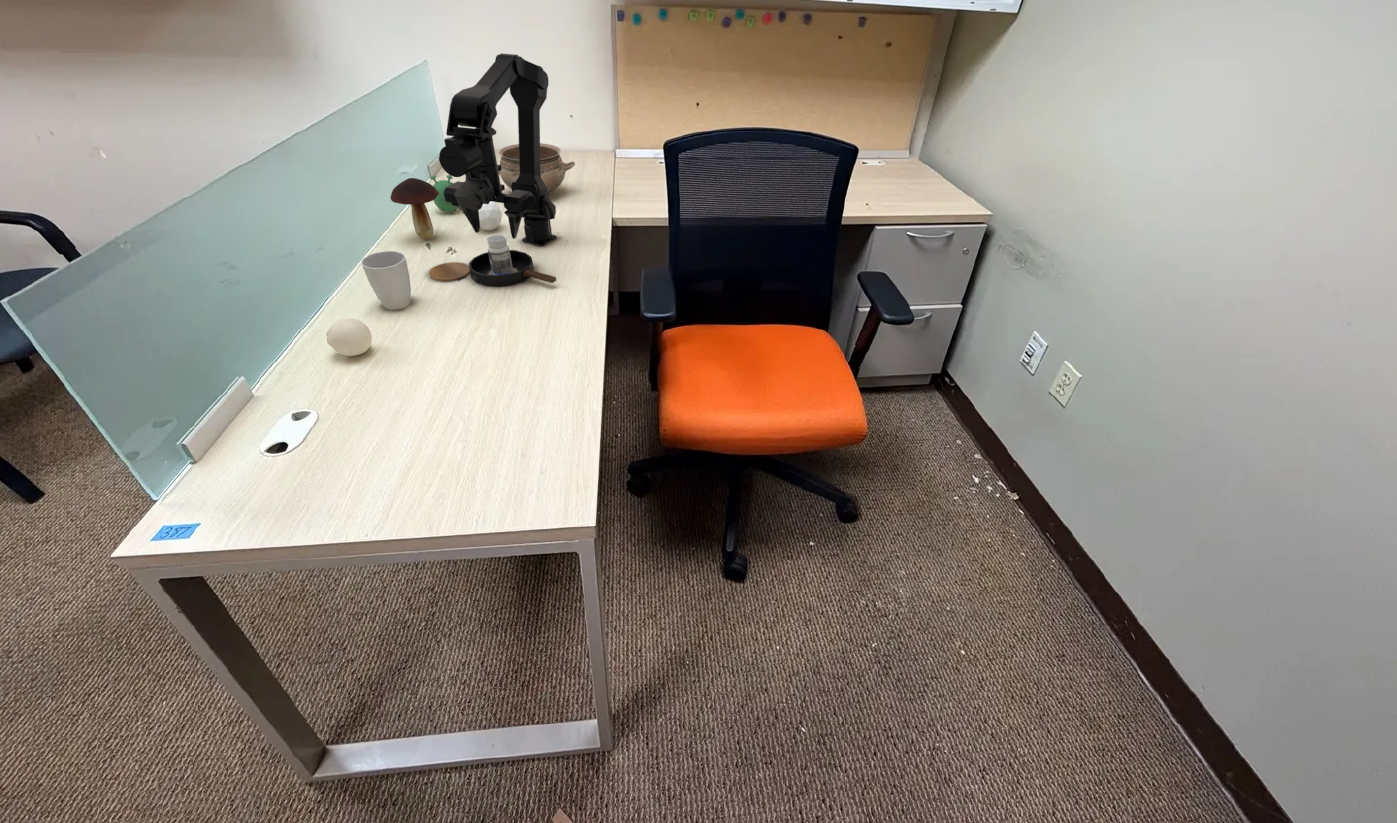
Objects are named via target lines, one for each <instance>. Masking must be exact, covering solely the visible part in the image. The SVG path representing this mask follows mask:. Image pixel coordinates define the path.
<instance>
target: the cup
mask: <svg viewBox="0 0 1397 823" xmlns="http://www.w3.org/2000/svg"><path fill="white" fill-rule="evenodd" d="M360 264H361V266H362V269H363V271H364V274H365V276H366V278H367V281H368V283H369V285H370V287H371V288H372V290H373V292H374V294H375V296H376V298H377V299H378V300H379V301H380V303H381V304H382V305H383V307H384V308H385V309H387V310H389V311H390V310H392V311H397V310H403V309H404V308H407V307H408V306H410V304H411V297H412V288H411V277H410V271H409V267H408V263H407V258H406V255H405V254H404V253H403V252H400V251H395V250H384V251H378V252H374V253H371V254H368V255H366V256H365V257H363V258H362V260H361V261H360Z"/></svg>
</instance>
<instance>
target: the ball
mask: <svg viewBox="0 0 1397 823" xmlns="http://www.w3.org/2000/svg"><path fill="white" fill-rule="evenodd" d="M478 211H479V220H480V230H481V229H482V230H483V231H492V230H496V228H497V227H499V226H500V224H501V223H502V218H503V213H502V210H501V208H500V207H499V204H498V203H497V202H492V201H490V203H489V204H483V205H482V208H481V209H480V210H478Z"/></svg>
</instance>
